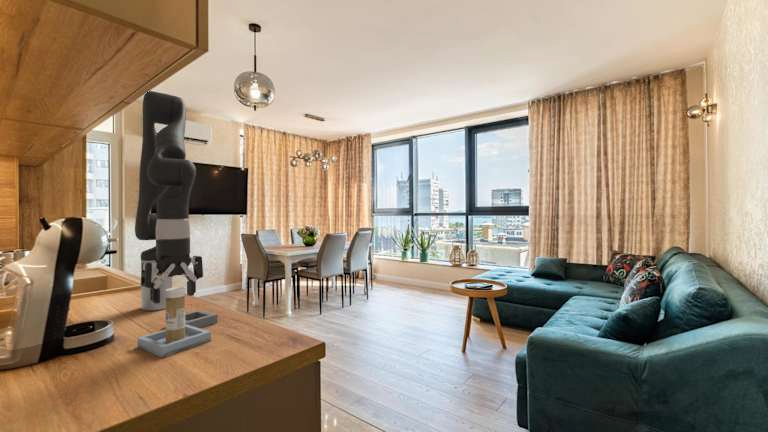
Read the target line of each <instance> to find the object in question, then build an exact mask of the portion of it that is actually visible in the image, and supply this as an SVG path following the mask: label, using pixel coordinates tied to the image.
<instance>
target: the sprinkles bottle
mask: <svg viewBox="0 0 768 432" xmlns="http://www.w3.org/2000/svg"><path fill="white" fill-rule="evenodd" d="M185 297H186V288H184V287H177V286H176V287H172V288H170V289H167V290H165V299H166V308H165V330H166V340H165V341H166V342H167V343H172V342H175V341H178V340H181V339H184V338H186V337H185V313H186V301H185V300H186V299H185Z"/></svg>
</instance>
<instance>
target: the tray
mask: <svg viewBox="0 0 768 432" xmlns="http://www.w3.org/2000/svg"><path fill="white" fill-rule="evenodd" d="M185 337H186V338H184V339H181V340H178V341H175V342H172V343H167V342H166V341H165V340H166V329H163V330H160V331H157V332H153V333H149V334H146V335H142V336H138V337H137V348H139V349H141V350H143V351H147V352H149V353H151V354H153V355H156V356H157V357H161V358H165V357H168V356H170V355H174V354H176V353H177V354H178V353H179V352H183V351H185V350H188V349H191V348H194V347H197V346H200V345H203V344H206V343H208V342H211V341H212V332H211V331H210V330H208V329H207V330H206V329H203V328H197V327H194V326H190V325H187V324H185Z"/></svg>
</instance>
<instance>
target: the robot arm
mask: <svg viewBox="0 0 768 432" xmlns="http://www.w3.org/2000/svg"><path fill="white" fill-rule="evenodd" d="M148 91H149V92H148ZM146 92H147V93H146ZM146 92H145V93H146V94H145V93H144V95H143V99H142V143H141V153H140V154H141V155H140V161H139V162H140V163H139V179H138V183H139V184H138V186H139V187H138V202H137V208H136V214H135V215H136V216H135V222H134V234H135V237H136V238H137V239H138V240H139V241H155V246H153V247H151V248H148V249H145V250H142V251H141V252H140V287H141V289H140V290H141V295H140V296H141V310H142V311H160V310H164V309H165V310H166V299H165V290H167V289H170V288H173V277H175V276H183V277H184V278H186V280H187V281H186V295H187V296H189V297H193V296H194V295H195V293H196V292H197V286H196V283H197V280H200V279H202V278H203V277H204V269H203V257H202V256H200V255H193V256H190V254H191V226H190V225H191V224H190V220H189V219H190V217H189V213H190V212H189V211H190V210H189V208H190V207H189V205H190V203H189V201H190V196H191V193H192V189H193V186H194V181H195V179H196V176H197V168H196V166H195V164H194V162H192V161H191V160H190V159H186V156H187V155H186V147H185V146H186V145H185V132H186V123H187V122H186V118H187V109H186V103H185V101H184V99H183V98H182V97H180V96H177V95H172V94H167V93H163V92H158V91H152V90H147V91H146ZM155 124H159V125H166V126H165V127H163V128H162V129H160V130H158V132H157V130H156V128H155ZM170 187H180V189H179V191H178V192H176V193H173V194H166V195H164V194H165V193H166V192H167V191H168V189H170ZM155 203H156V213H151V211H152V209H153V206H154V205H155ZM191 264H192V268H193V271H192V270H191V269H190V268H189V266H190V265H191Z"/></svg>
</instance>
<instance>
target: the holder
mask: <svg viewBox="0 0 768 432" xmlns="http://www.w3.org/2000/svg"><path fill="white" fill-rule="evenodd" d="M216 323H218V314H216V313H213V312H210V311H205V310H203V309H197V310H193V311H190V312H185V324H187V325H190V326H194V327H197V328H200V329H202V328H203V327H208V326H211V325H213V324H216Z"/></svg>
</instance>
